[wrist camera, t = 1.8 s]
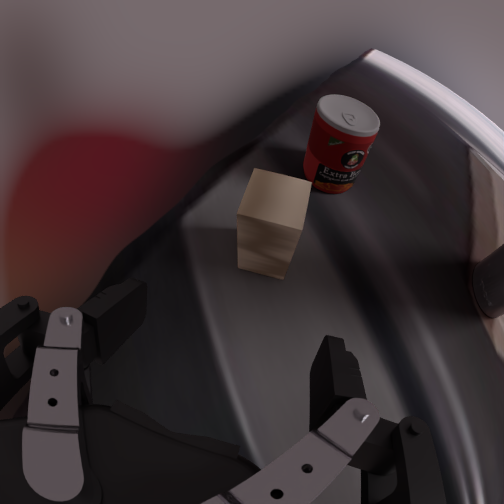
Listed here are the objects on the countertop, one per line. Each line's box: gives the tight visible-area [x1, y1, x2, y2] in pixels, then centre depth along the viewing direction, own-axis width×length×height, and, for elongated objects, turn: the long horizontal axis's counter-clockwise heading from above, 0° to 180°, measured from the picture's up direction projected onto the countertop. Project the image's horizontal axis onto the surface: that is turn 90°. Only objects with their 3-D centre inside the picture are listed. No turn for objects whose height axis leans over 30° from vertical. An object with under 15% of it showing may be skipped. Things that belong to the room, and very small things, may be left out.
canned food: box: [303, 95, 380, 194], centre depth 31 cm, size 8×8×11 cm
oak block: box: [237, 168, 312, 280], centre depth 26 cm, size 5×5×10 cm
